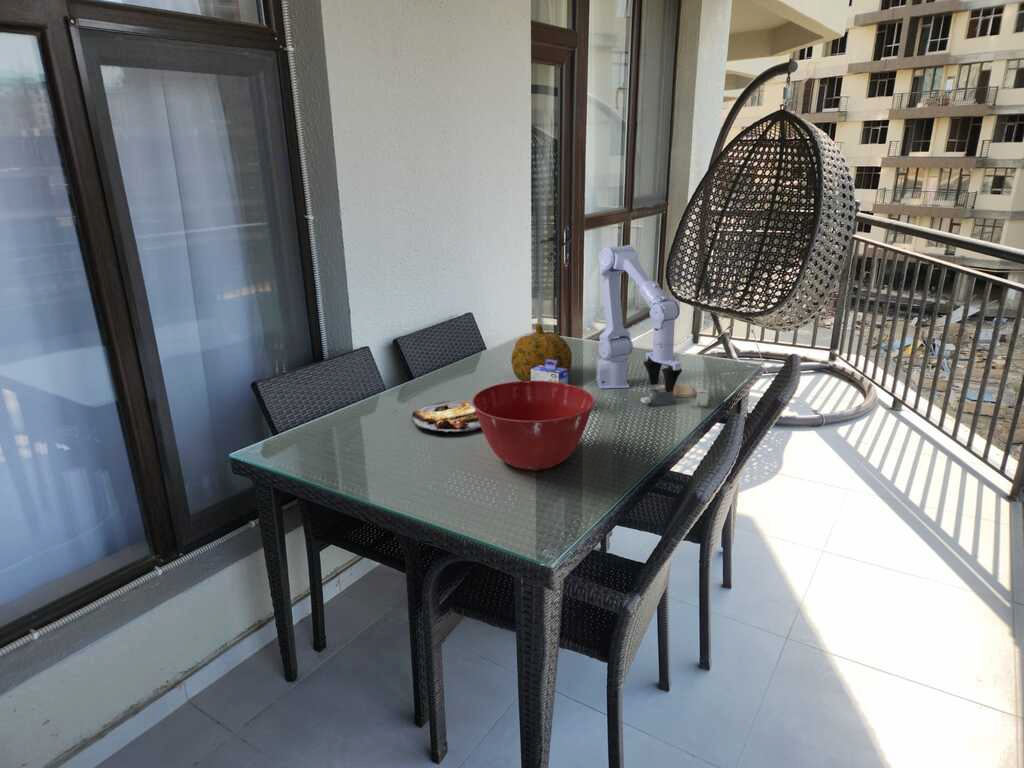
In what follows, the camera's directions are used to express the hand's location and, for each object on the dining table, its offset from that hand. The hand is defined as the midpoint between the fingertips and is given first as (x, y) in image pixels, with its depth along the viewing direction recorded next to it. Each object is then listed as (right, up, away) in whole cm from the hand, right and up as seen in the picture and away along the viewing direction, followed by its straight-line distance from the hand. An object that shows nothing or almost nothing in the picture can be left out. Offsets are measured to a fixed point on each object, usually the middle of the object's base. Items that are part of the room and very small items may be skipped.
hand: (661, 387), depth 188 cm
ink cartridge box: (-33, -6, 0) cm, 33 cm away
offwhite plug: (+12, -4, +1) cm, 13 cm away
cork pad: (+7, -2, +10) cm, 12 cm away
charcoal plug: (-1, -5, +1) cm, 5 cm away
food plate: (-60, -10, -8) cm, 61 cm away
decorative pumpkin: (-34, +2, +26) cm, 43 cm away
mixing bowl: (-39, -17, -34) cm, 54 cm away
